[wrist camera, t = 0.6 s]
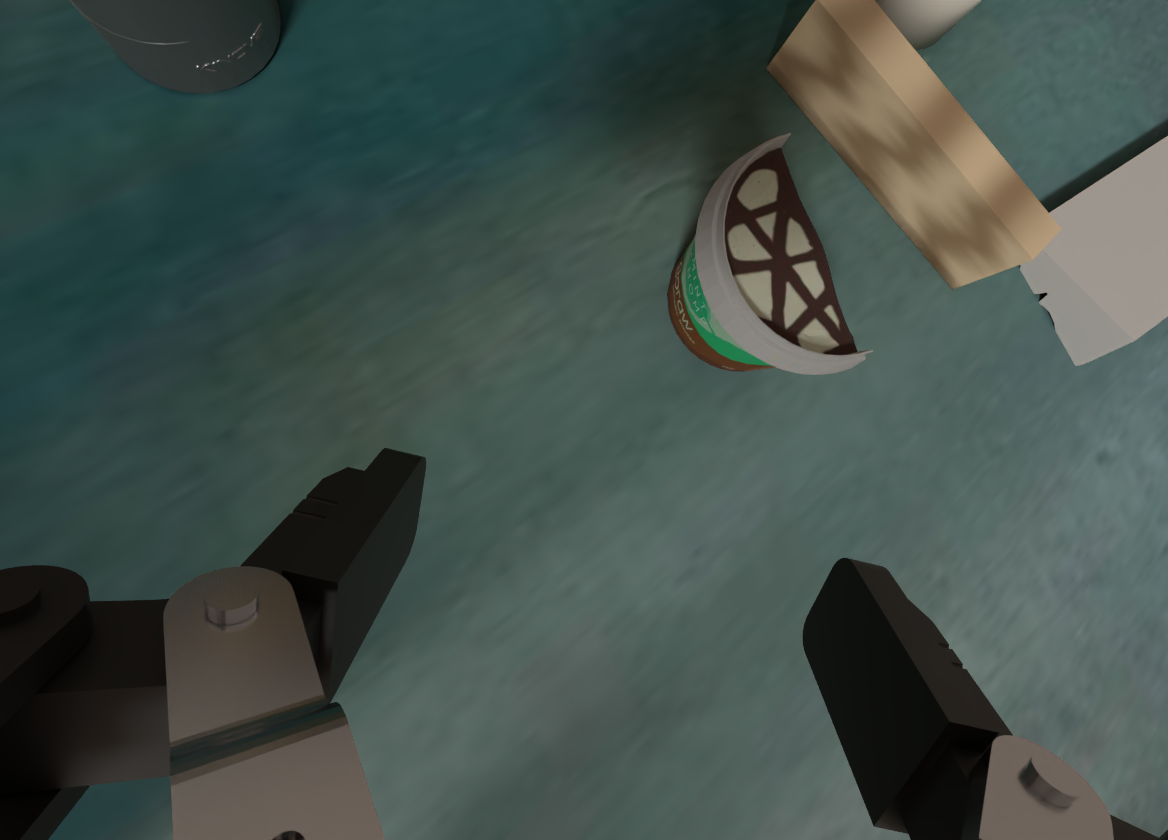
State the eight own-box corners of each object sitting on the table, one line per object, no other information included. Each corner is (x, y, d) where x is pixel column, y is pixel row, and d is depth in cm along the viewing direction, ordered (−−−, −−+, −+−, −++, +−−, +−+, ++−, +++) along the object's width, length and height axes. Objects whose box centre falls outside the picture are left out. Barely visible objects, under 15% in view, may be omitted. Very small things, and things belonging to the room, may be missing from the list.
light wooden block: (766, 68, 39) (816, -2, 33) (813, 27, 40) (871, -48, 34) (952, 289, 40) (1033, 259, 34) (994, 245, 41) (1080, 208, 35)
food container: (621, 237, 36) (673, 154, 26) (706, 211, 37) (787, 121, 28) (689, 420, 36) (766, 404, 26) (773, 388, 37) (877, 361, 28)
